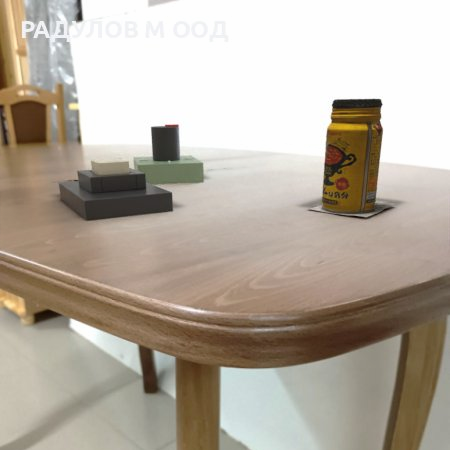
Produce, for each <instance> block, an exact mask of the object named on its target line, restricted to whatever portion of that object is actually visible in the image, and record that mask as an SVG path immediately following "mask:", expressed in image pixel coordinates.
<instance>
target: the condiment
mask: <svg viewBox="0 0 450 450" xmlns="http://www.w3.org/2000/svg"><path fill="white" fill-rule="evenodd" d="M383 105H384V104H383V101H382V99H381V98H341V99H340V98H337V99H334V100H332V104H331V107H332V108H331V113H330V120H331V122H330V123H329V125H328V126H327V128H326V134H325V135H326V136H325V148H324V149H325V150H324V151H325V152H324V164H323V181H322V197H321V203H322V204H319V205H317V206H315V207H311V208H309V210H311V211H317V212H322V213H328V214H333V215H334V214H335V215H342V216H357V217H363V218H368V217H371V216H374V215H376V214H378V213H381V212H382V211H384V210H385V209H388V208H390V207H392V206H393V205H395V203H390V202H389V203H384V202H383V203H382V202H376V201H377V200H376V199H377V194H378V193H377V192H378V182H379V181H378V180H379V172H380V171H379V170H380V161H381V152H382V144H383V134H384V128H383V126H382V122H381V119H382V106H383Z"/></svg>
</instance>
